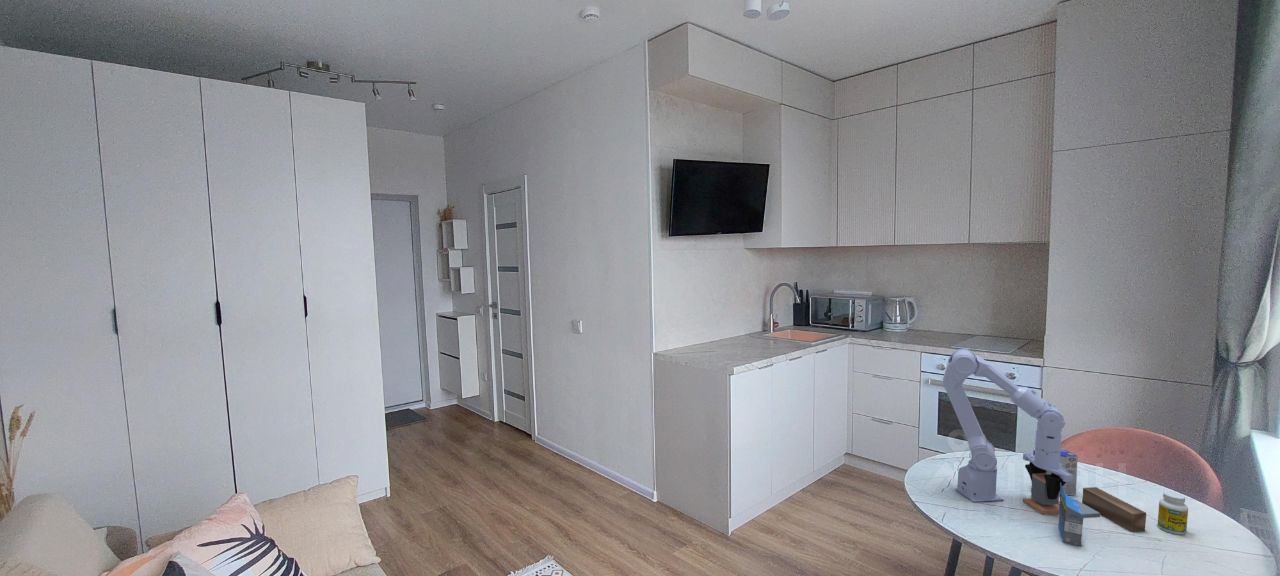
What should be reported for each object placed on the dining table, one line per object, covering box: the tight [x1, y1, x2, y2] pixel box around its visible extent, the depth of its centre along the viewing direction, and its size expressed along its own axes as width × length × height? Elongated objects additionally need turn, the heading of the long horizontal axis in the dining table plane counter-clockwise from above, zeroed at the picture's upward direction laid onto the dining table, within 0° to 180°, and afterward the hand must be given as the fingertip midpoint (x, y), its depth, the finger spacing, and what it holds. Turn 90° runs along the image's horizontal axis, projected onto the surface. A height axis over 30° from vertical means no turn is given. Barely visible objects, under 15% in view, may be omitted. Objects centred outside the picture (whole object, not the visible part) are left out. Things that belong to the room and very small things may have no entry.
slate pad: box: [1058, 499, 1101, 519], centre depth 146 cm, size 7×7×1 cm
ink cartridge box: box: [1032, 449, 1079, 496], centre depth 157 cm, size 10×6×14 cm, turn 89°
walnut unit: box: [1081, 486, 1147, 533], centre depth 143 cm, size 4×14×5 cm, turn 4°
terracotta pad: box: [1022, 497, 1059, 515], centre depth 148 cm, size 7×7×1 cm
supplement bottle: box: [1157, 490, 1189, 535], centre depth 136 cm, size 5×5×10 cm
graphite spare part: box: [1030, 473, 1060, 505], centre depth 148 cm, size 4×4×7 cm
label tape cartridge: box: [1057, 483, 1084, 547], centre depth 134 cm, size 9×4×12 cm, turn 148°
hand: (1044, 494), depth 148 cm, fingers closed on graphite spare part, 4 cm apart
